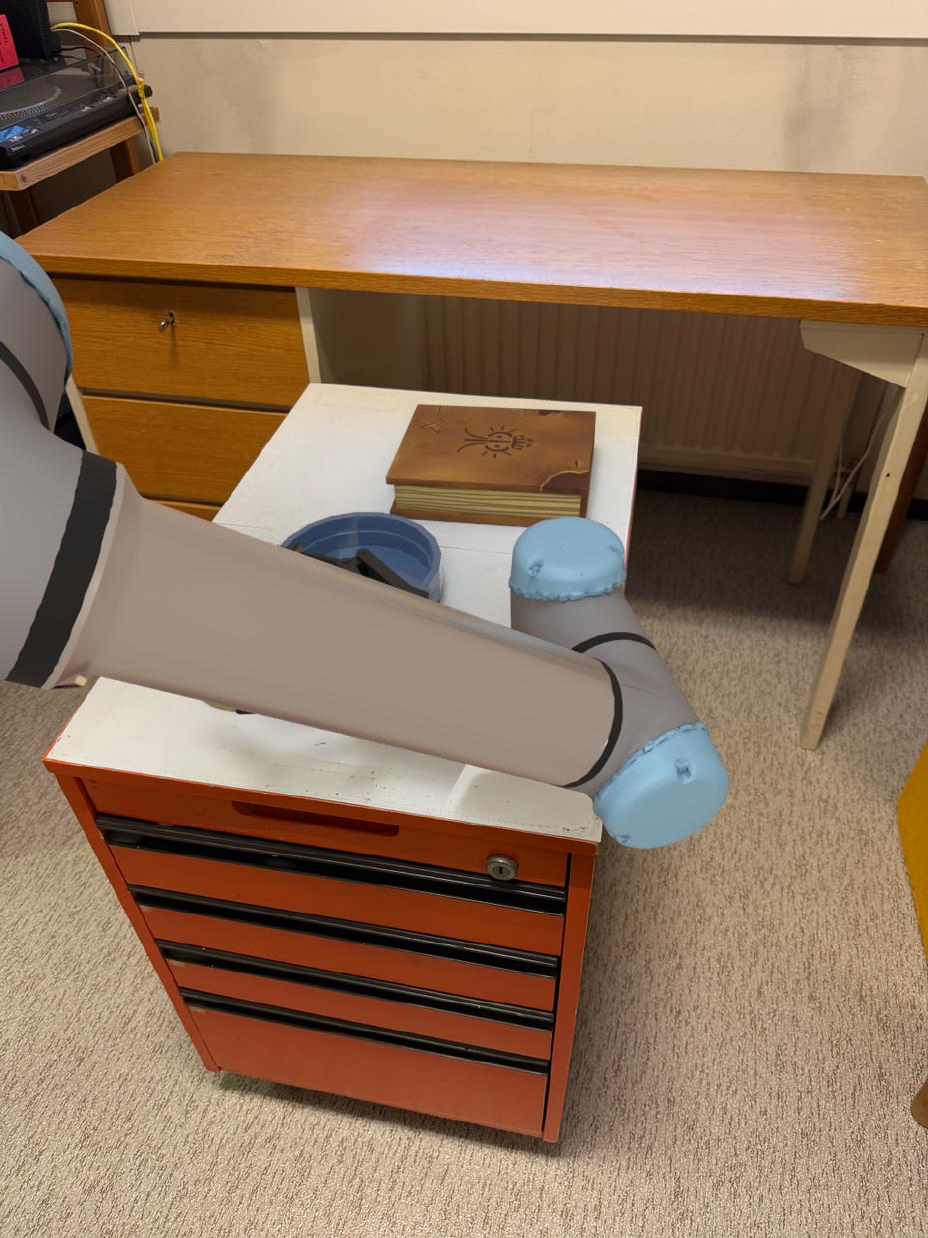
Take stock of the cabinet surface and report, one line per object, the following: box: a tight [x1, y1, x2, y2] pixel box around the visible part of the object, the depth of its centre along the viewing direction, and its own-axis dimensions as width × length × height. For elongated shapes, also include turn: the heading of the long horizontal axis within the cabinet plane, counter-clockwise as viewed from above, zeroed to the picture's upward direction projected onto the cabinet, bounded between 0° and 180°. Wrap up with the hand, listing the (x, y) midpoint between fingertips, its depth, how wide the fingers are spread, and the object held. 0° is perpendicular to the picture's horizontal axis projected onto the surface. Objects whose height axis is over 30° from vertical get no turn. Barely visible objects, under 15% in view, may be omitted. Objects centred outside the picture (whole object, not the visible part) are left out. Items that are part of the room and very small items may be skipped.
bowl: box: [279, 511, 444, 603], centre depth 93 cm, size 18×18×4 cm
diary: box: [385, 403, 597, 527], centre depth 108 cm, size 23×19×6 cm
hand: (232, 601), depth 78 cm, fingers open, 13 cm apart
